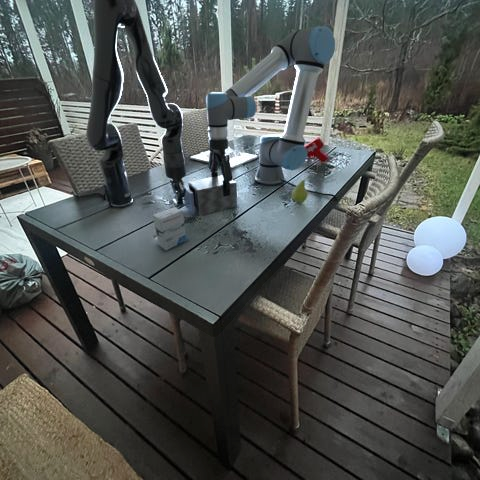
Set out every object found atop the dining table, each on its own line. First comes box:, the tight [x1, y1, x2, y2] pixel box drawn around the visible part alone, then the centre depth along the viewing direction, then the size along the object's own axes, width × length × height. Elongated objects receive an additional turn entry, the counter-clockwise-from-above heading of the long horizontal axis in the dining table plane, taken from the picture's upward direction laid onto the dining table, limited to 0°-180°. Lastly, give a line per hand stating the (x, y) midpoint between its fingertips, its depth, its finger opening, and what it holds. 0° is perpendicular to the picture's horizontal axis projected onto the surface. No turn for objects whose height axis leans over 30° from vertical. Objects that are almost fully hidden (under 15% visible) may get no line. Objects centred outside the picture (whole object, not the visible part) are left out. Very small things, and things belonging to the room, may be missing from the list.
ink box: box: [152, 206, 187, 251], centre depth 91 cm, size 8×5×12 cm, turn 135°
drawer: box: [171, 184, 199, 215], centre depth 113 cm, size 22×10×9 cm, turn 119°
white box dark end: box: [187, 174, 238, 216], centre depth 116 cm, size 17×11×11 cm, turn 119°
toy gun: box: [304, 136, 329, 165], centre depth 169 cm, size 18×4×15 cm
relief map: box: [190, 145, 259, 169], centre depth 178 cm, size 27×35×5 cm
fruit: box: [291, 174, 311, 204], centre depth 118 cm, size 7×8×12 cm
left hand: (180, 205), depth 111 cm, fingers closed
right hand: (220, 191), depth 117 cm, fingers closed on white box dark end, 11 cm apart
